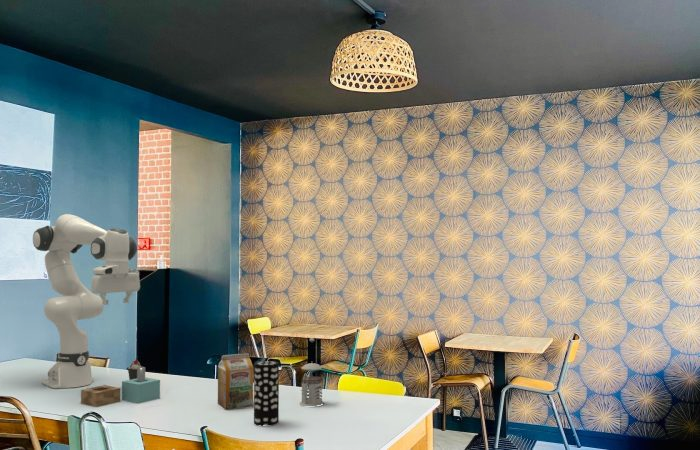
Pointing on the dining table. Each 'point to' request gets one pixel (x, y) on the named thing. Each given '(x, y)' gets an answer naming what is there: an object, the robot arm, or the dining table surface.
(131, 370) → the sundae
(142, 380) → the peg
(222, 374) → the milk carton
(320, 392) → the french press
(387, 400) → the dining table surface
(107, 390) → the socket
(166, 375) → the dining table surface
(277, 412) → the spotted tube
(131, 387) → the teal storage box
